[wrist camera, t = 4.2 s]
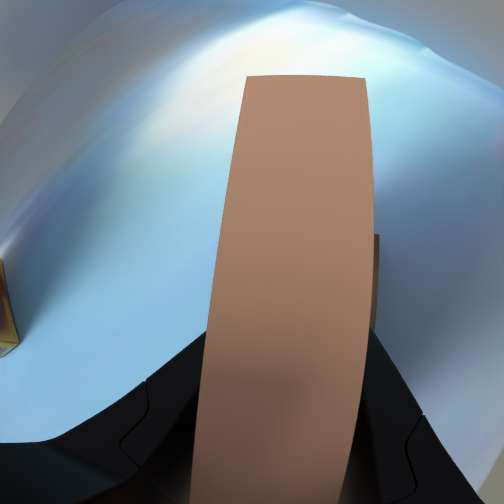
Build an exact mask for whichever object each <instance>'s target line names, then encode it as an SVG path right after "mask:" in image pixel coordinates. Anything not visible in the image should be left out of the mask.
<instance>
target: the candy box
mask: <svg viewBox="0 0 504 504" xmlns="http://www.w3.org/2000/svg"><path fill="white" fill-rule="evenodd" d="M19 343H20V342H19V338H18V335H17V332H16V329H15V325H14V322H13V317H12V313H11V309H10V304H9V299H8V294H7V289H6V284H5V278H4V272H3V265H2V260H1V259H0V358H2V357H3V356H4V355H6V354H7V353H8V352H9V351H11V350H12V349H13V348H14V347H16V346H17V345H19Z"/></svg>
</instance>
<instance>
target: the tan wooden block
mask: <svg viewBox="0 0 504 504" xmlns="http://www.w3.org/2000/svg"><path fill="white" fill-rule="evenodd" d="M373 257H374V182H373V159H372V143H371V129H370V118H369V107H368V98H367V89H366V81H365V78H355V77H340V76H318V75H269V76H247V78H246V83H245V88H244V94H243V99H242V104H241V110H240V115H239V121H238V126H237V132H236V138H235V143H234V149H233V155H232V161H231V167H230V173H229V179H228V185H227V191H226V198H225V204H224V210H223V217H222V223H221V230H220V236H219V243H218V250H217V257H216V264H215V271H214V278H213V285H212V293H211V300H210V308H209V316H208V323H207V331H206V340H205V348H204V356H203V365H202V374H201V383H200V392H199V401H198V411H197V421H196V431H195V441H194V452H193V464H192V476H191V489H190V502H189V504H337V503H338V499H339V496H340V492H341V488H342V484H343V480H344V476H345V472H346V468H347V464H348V459H349V455H350V450H351V445H352V440H353V435H354V430H355V425H356V420H357V414H358V408H359V402H360V396H361V390H362V383H363V376H364V368H365V360H366V352H367V343H368V334H369V323H370V311H371V297H372V281H373Z"/></svg>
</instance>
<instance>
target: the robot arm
mask: <svg viewBox="0 0 504 504" xmlns="http://www.w3.org/2000/svg"><path fill="white" fill-rule="evenodd" d="M206 331H207V330H206ZM206 331H205V332H204V333H203V334H201V335H200V336H199V337H198V338H196V339H195V340H194V341H193V342H192V343H190V344H189V345H188V346H187V347H185V348H184V349H183V350H182V351H181V352H179V353H178V354H177V355H176V356H174V357H173V358H172V359H171V360H169V361H168V362H167V363H166V364H164V365H163V366H162V367H161V368H159V369H158V370H157V371H156V372H154V373H153V374H152V375H151V376H149V377H148V378H147V379H146V382H145V381H143V382H142V383H140V384H139V385H138V386H137V387H135V388H134V389H133V390H131V391H130V392H129V393H127V394H126V395H125V396H123V397H122V398H121V399H119V400H118V401H116V402H115V403H113V404H112V405H110V406H109V407H107V408H106V409H104V410H103V411H101V412H99V413H98V414H96V415H94V416H93V417H91V418H89V419H88V420H86V421H84V422H83V423H81V424H79V425H78V426H76V427H74V428H73V429H71V430H69V431H67V432H66V433H64V434H62V435H60V436H58V437H55V438H53V439H50V440H46V441H41V442H26V443H0V504H189V502H190V489H191V476H192V464H193V452H194V441H195V431H196V421H197V411H198V401H199V392H200V383H201V374H202V365H203V356H204V348H205V340H206ZM422 414H423V412H422V410H421V408H420V406H419V405H418V403H417V401H416V400H415V398H414V396H413V395H412V393H411V391H410V389H409V388H408V386H407V384H406V383H405V381H404V379H403V378H402V376H401V375H400V373H399V371H398V370H397V368H396V366H395V365H394V363H393V361H392V360H391V358H390V357H389V355H388V353H387V352H386V350H385V349H384V347H383V345H382V344H381V342H380V341H379V339H378V338H377V336H376V334H375V333H374V331H373V330H372V328H371V327H370V325H369V334H368V343H367V352H366V360H365V368H364V376H363V383H362V390H361V396H360V402H359V408H358V414H357V420H356V425H355V430H354V435H353V440H352V445H351V450H350V455H349V459H348V464H347V468H346V472H345V476H344V480H343V484H342V488H341V492H340V496H339V499H338V503H337V504H485V503H483V501H482V500H481V499H480V498H479V496H478V495H477V494H476V492H475V491H474V489H473V488H472V487H471V485H470V484H469V482H468V481H467V479H466V478H465V477H464V475H463V474H462V472H461V471H460V470H459V468H458V467H457V465H456V464H455V463H454V461H453V460H452V458H451V457H450V455H449V454H448V453H447V451H446V450H445V448H444V447H443V445H442V444H441V442H440V440H439V439H438V437H437V435H436V434H435V432H434V431H433V429H432V427H431V425H430V424H429V422H428V420H427V418H426V417H425V415H422Z"/></svg>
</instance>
